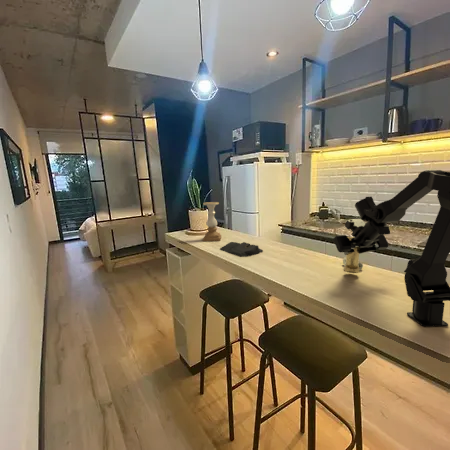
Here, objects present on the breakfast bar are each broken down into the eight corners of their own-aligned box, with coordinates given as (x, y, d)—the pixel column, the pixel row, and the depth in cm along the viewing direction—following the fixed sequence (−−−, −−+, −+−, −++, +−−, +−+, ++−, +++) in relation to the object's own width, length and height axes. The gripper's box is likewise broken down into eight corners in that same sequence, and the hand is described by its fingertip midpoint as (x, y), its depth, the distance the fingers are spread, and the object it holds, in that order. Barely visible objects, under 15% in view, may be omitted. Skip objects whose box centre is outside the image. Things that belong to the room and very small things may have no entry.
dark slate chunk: (238, 245, 156) (238, 237, 156) (265, 252, 139) (265, 244, 138) (217, 250, 147) (217, 242, 146) (244, 258, 130) (243, 249, 129)
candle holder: (220, 241, 166) (218, 203, 162) (202, 241, 167) (201, 203, 163) (221, 237, 177) (220, 201, 173) (205, 237, 178) (203, 202, 174)
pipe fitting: (349, 273, 107) (362, 269, 109) (348, 263, 107) (362, 261, 108) (336, 266, 115) (349, 264, 117) (336, 258, 114) (349, 255, 116)
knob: (360, 273, 100) (361, 240, 98) (345, 272, 102) (346, 239, 100) (358, 269, 105) (360, 237, 103) (344, 268, 107) (345, 236, 104)
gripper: (385, 211, 97) (364, 235, 109) (337, 213, 94) (321, 237, 107) (400, 237, 90) (376, 259, 103) (348, 240, 88) (330, 262, 101)
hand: (350, 253), depth 103 cm, fingers closed on knob, 4 cm apart
